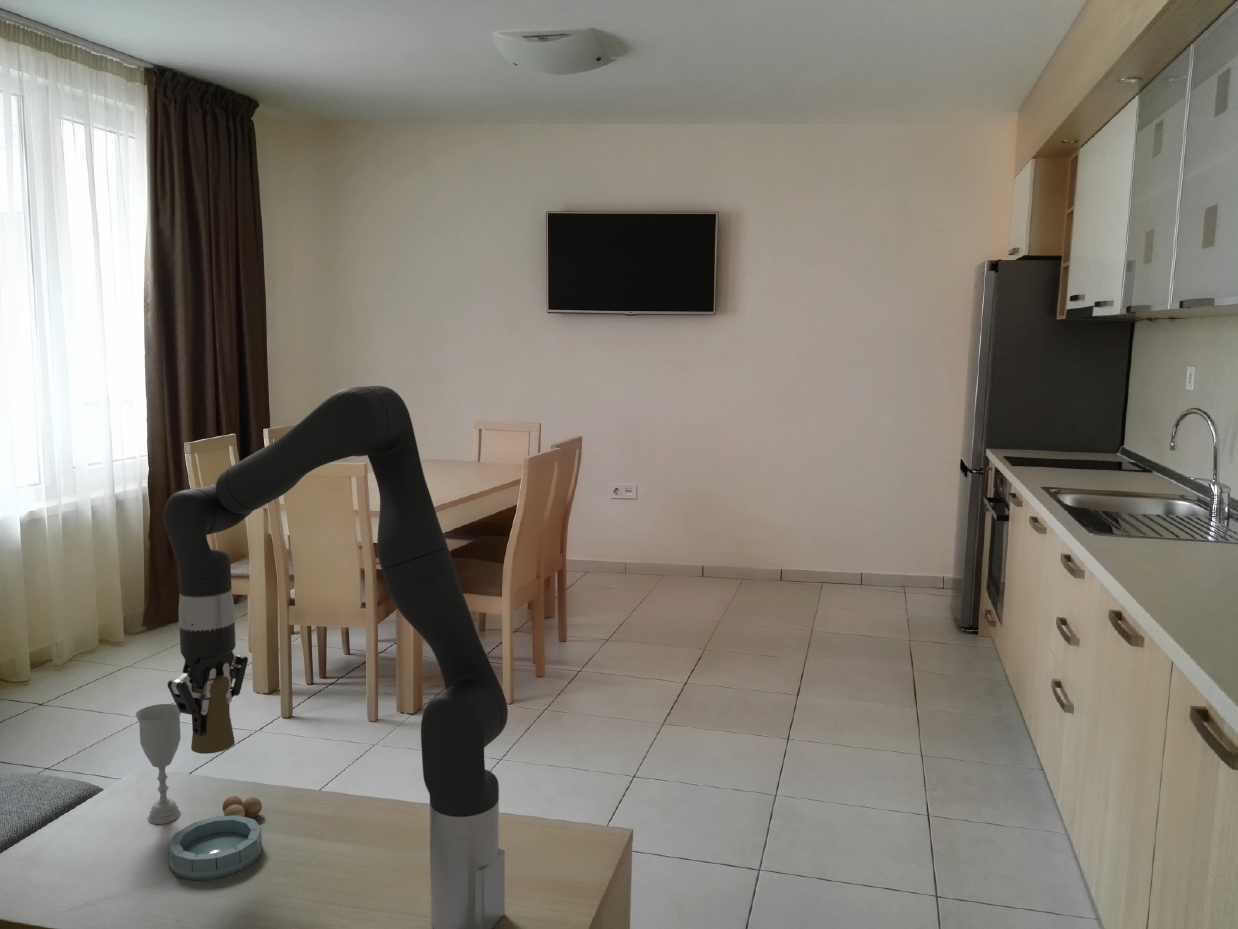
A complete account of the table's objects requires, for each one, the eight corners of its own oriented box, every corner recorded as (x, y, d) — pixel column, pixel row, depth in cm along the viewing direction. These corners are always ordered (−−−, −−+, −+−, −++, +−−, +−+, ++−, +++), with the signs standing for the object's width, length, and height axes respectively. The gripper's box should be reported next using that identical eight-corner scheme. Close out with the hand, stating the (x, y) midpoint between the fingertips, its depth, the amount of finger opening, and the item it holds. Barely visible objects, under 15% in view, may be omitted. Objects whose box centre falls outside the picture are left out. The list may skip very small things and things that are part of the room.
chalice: (196, 813, 155) (191, 710, 153) (157, 831, 150) (152, 724, 147) (170, 802, 159) (165, 700, 157) (131, 818, 153) (126, 713, 151)
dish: (280, 844, 146) (279, 825, 146) (217, 888, 134) (216, 867, 134) (215, 827, 151) (215, 808, 151) (149, 868, 139) (148, 848, 139)
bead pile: (265, 811, 157) (265, 793, 156) (250, 829, 151) (250, 811, 150) (227, 810, 157) (227, 792, 156) (211, 828, 151) (210, 810, 150)
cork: (218, 755, 137) (215, 683, 136) (182, 751, 138) (178, 680, 137) (243, 738, 143) (240, 669, 142) (208, 735, 144) (204, 666, 143)
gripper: (189, 637, 130) (194, 755, 132) (261, 611, 143) (265, 719, 145) (148, 631, 133) (154, 746, 135) (223, 605, 146) (227, 711, 148)
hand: (211, 731), depth 140 cm, fingers closed on cork, 3 cm apart
